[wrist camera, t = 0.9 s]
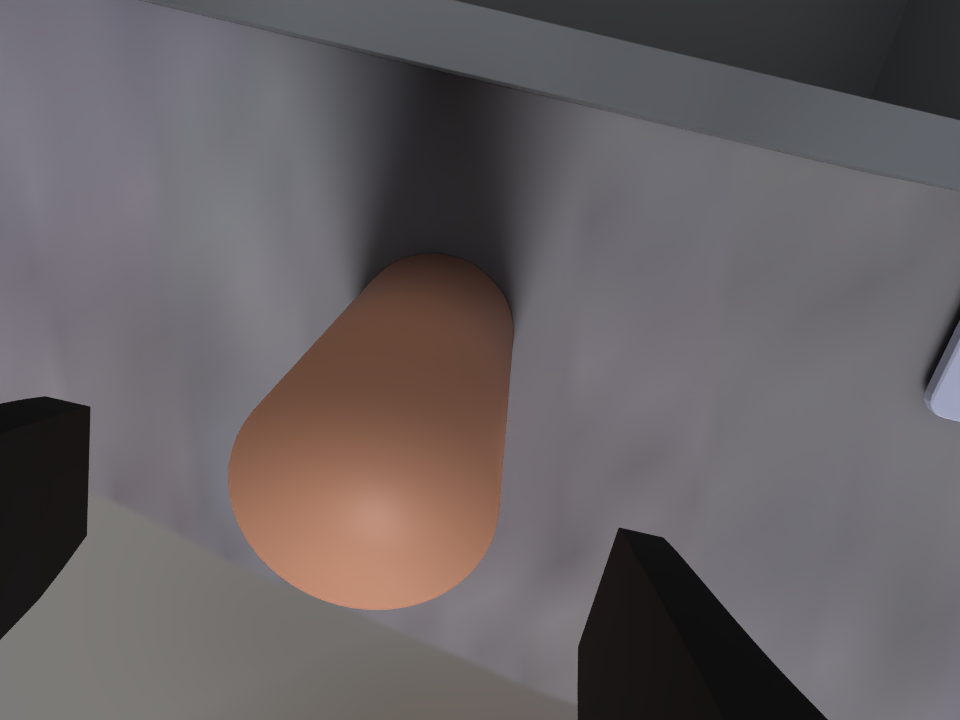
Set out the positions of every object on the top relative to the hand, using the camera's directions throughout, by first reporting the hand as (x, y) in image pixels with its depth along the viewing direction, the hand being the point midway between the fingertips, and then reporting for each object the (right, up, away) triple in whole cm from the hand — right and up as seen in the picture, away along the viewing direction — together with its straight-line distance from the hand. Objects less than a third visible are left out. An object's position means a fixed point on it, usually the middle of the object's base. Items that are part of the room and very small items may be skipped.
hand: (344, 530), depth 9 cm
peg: (+1, +3, +8) cm, 9 cm away
